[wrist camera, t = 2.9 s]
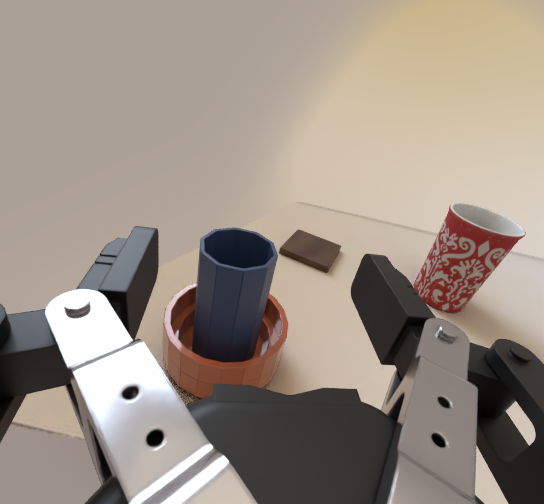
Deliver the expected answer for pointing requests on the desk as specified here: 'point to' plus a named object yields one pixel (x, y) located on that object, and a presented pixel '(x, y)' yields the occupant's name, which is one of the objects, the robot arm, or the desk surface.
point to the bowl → (204, 372)
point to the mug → (465, 255)
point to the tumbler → (231, 293)
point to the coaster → (310, 250)
